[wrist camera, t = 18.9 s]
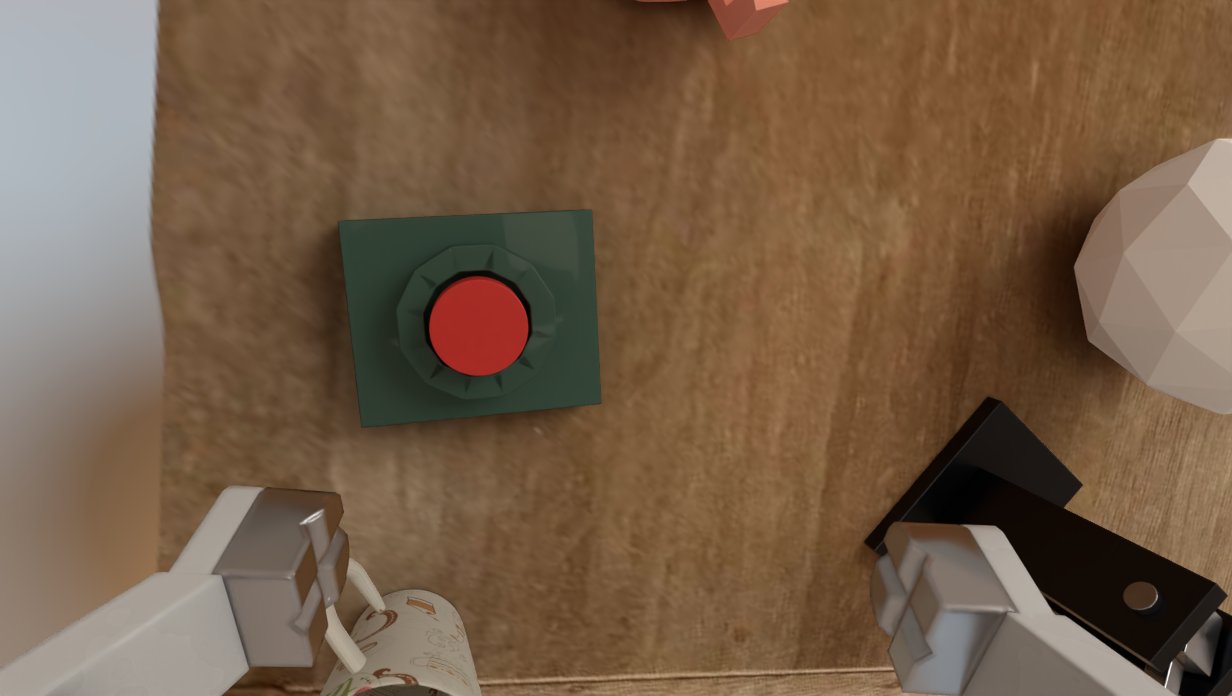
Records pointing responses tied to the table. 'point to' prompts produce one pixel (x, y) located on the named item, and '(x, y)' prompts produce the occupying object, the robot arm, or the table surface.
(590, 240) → the button box
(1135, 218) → the geometric sphere
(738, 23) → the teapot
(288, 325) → the table surface
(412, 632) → the mug
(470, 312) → the button
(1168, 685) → the lever
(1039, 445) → the bracket
